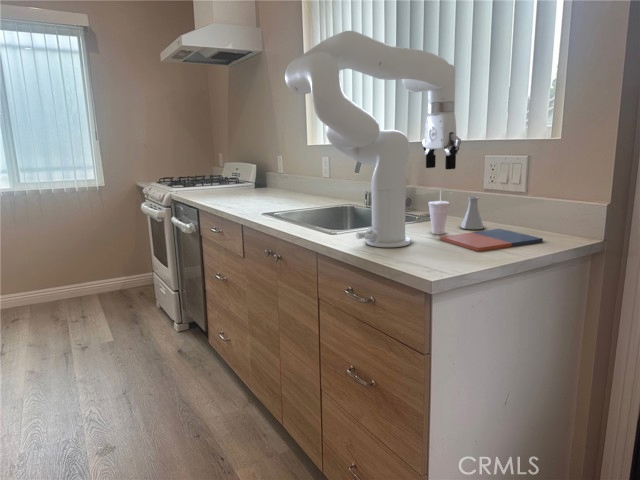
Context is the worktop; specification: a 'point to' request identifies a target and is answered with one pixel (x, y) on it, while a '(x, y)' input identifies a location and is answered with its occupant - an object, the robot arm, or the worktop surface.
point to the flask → (472, 216)
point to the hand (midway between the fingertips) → (440, 168)
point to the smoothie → (438, 215)
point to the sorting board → (490, 239)
